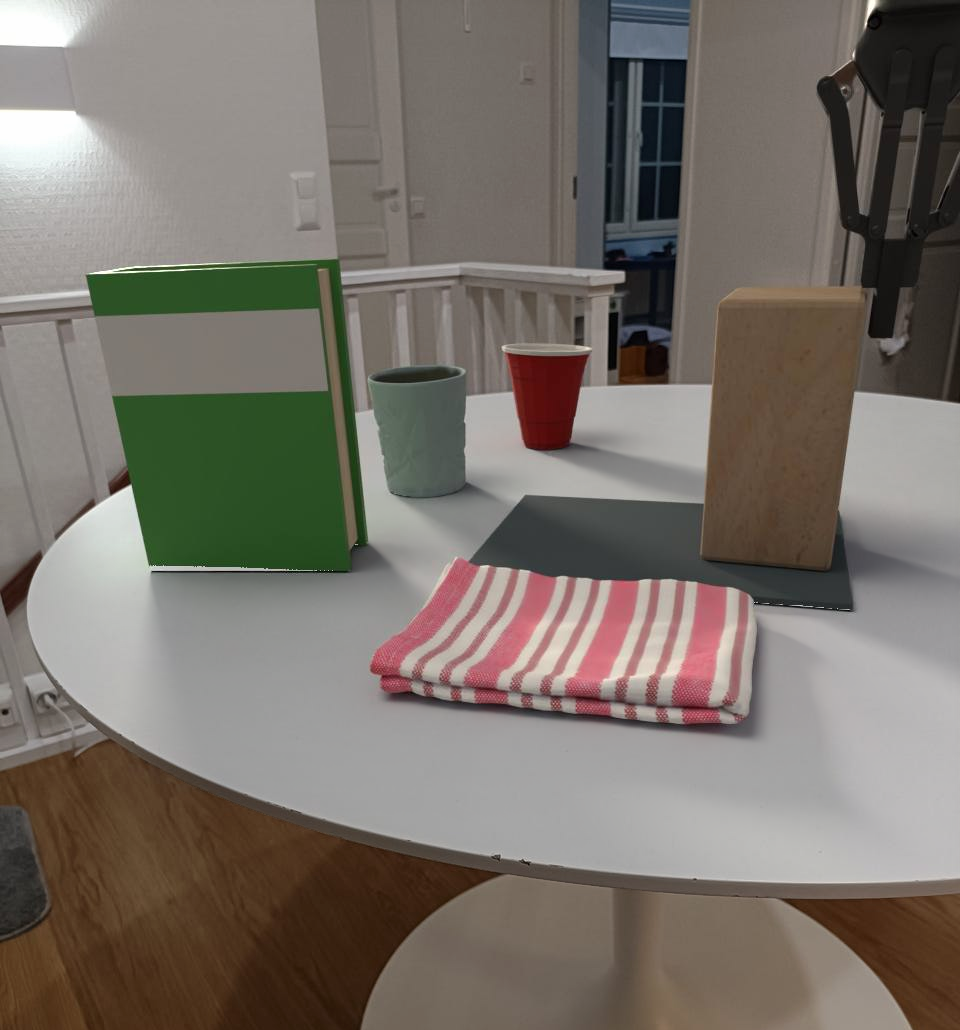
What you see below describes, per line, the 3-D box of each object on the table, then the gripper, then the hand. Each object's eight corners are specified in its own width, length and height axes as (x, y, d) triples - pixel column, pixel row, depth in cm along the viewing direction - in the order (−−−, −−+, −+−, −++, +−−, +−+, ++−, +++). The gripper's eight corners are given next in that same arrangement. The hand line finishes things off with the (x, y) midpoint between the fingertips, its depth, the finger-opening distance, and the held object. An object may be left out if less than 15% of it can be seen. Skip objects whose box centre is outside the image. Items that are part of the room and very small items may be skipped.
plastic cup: (609, 442, 113) (612, 341, 107) (548, 460, 106) (548, 353, 101) (547, 429, 120) (546, 334, 115) (486, 445, 114) (482, 346, 108)
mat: (838, 516, 84) (839, 509, 84) (852, 611, 65) (853, 604, 65) (525, 500, 93) (525, 494, 92) (457, 580, 74) (457, 574, 74)
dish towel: (447, 594, 71) (445, 552, 70) (756, 615, 65) (760, 570, 64) (366, 700, 57) (361, 650, 55) (754, 740, 51) (760, 685, 49)
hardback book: (368, 541, 83) (339, 258, 73) (348, 572, 77) (313, 265, 66) (184, 542, 85) (130, 267, 75) (150, 571, 79) (85, 274, 68)
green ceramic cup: (489, 480, 100) (485, 367, 94) (434, 505, 92) (426, 385, 87) (416, 469, 105) (408, 362, 100) (358, 492, 98) (346, 378, 92)
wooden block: (717, 522, 82) (735, 286, 73) (834, 532, 79) (868, 285, 70) (699, 561, 74) (716, 300, 65) (829, 573, 70) (867, 299, 62)
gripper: (1040, -58, 58) (968, 328, 68) (824, -35, 62) (787, 328, 72) (1072, -88, 52) (987, 343, 62) (829, -61, 55) (787, 342, 66)
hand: (879, 335), depth 67 cm, fingers closed
